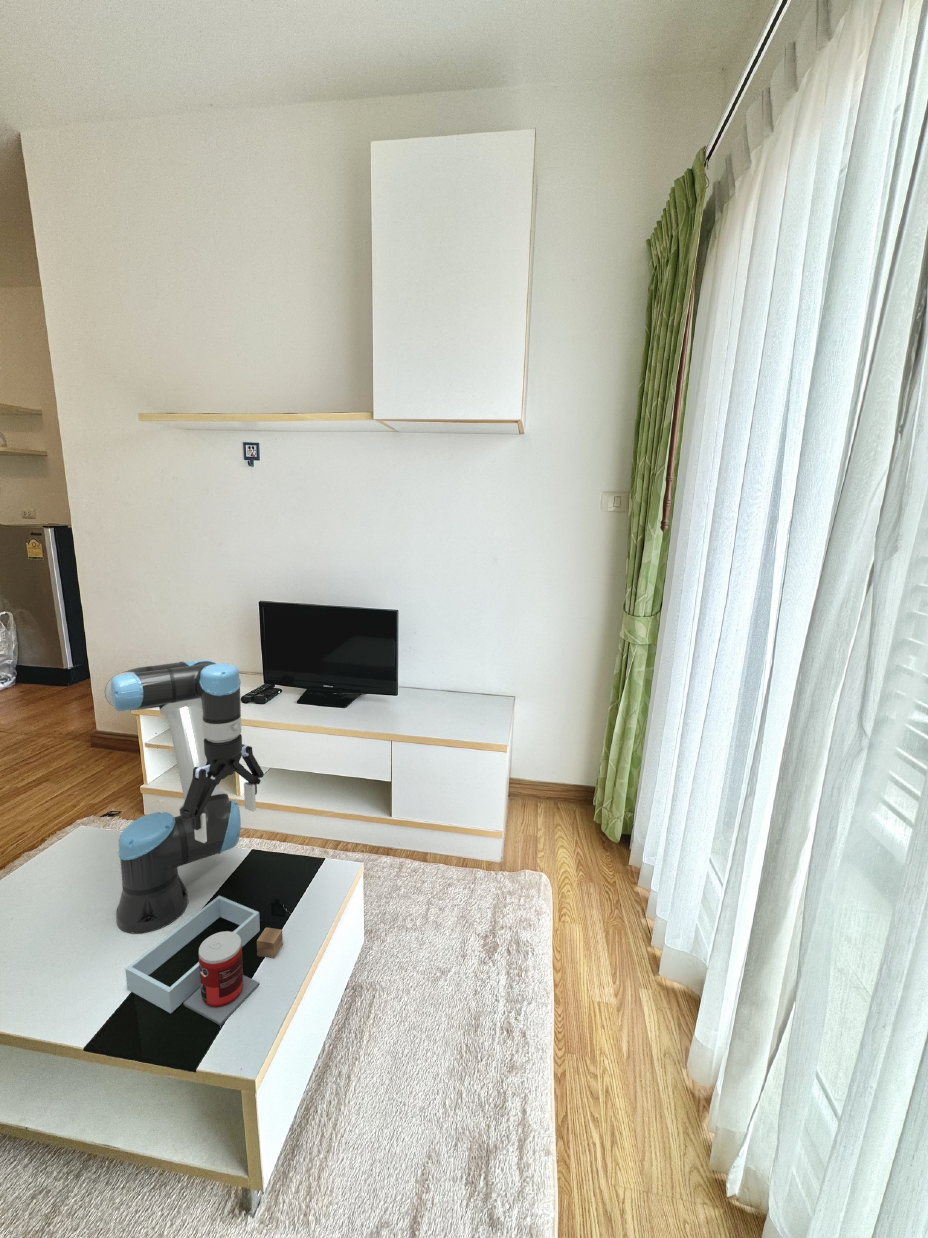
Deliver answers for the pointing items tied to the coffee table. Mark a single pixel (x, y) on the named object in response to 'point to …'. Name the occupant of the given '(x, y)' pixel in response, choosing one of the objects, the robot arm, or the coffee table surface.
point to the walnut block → (269, 943)
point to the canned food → (221, 968)
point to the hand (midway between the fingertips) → (226, 824)
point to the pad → (222, 1012)
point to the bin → (178, 939)
